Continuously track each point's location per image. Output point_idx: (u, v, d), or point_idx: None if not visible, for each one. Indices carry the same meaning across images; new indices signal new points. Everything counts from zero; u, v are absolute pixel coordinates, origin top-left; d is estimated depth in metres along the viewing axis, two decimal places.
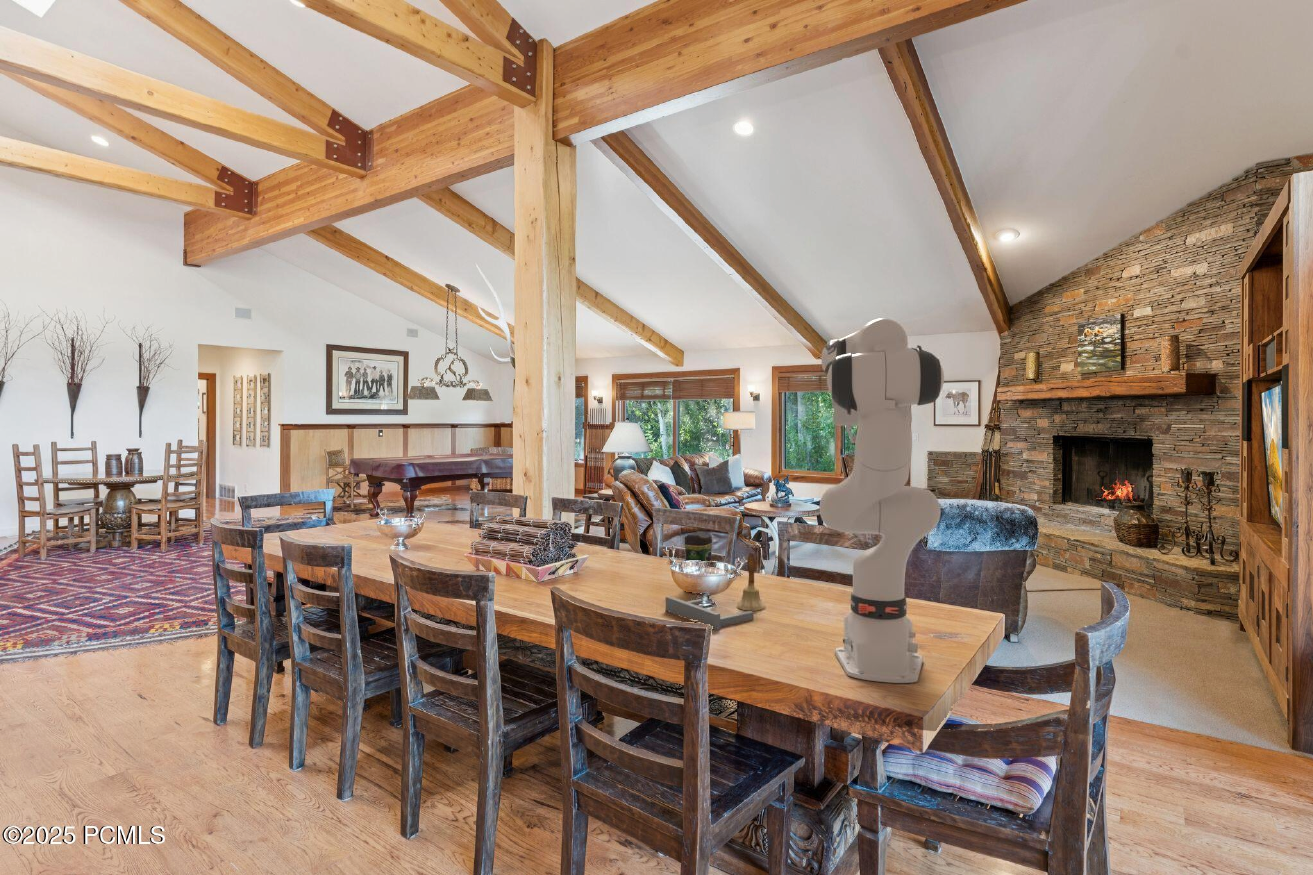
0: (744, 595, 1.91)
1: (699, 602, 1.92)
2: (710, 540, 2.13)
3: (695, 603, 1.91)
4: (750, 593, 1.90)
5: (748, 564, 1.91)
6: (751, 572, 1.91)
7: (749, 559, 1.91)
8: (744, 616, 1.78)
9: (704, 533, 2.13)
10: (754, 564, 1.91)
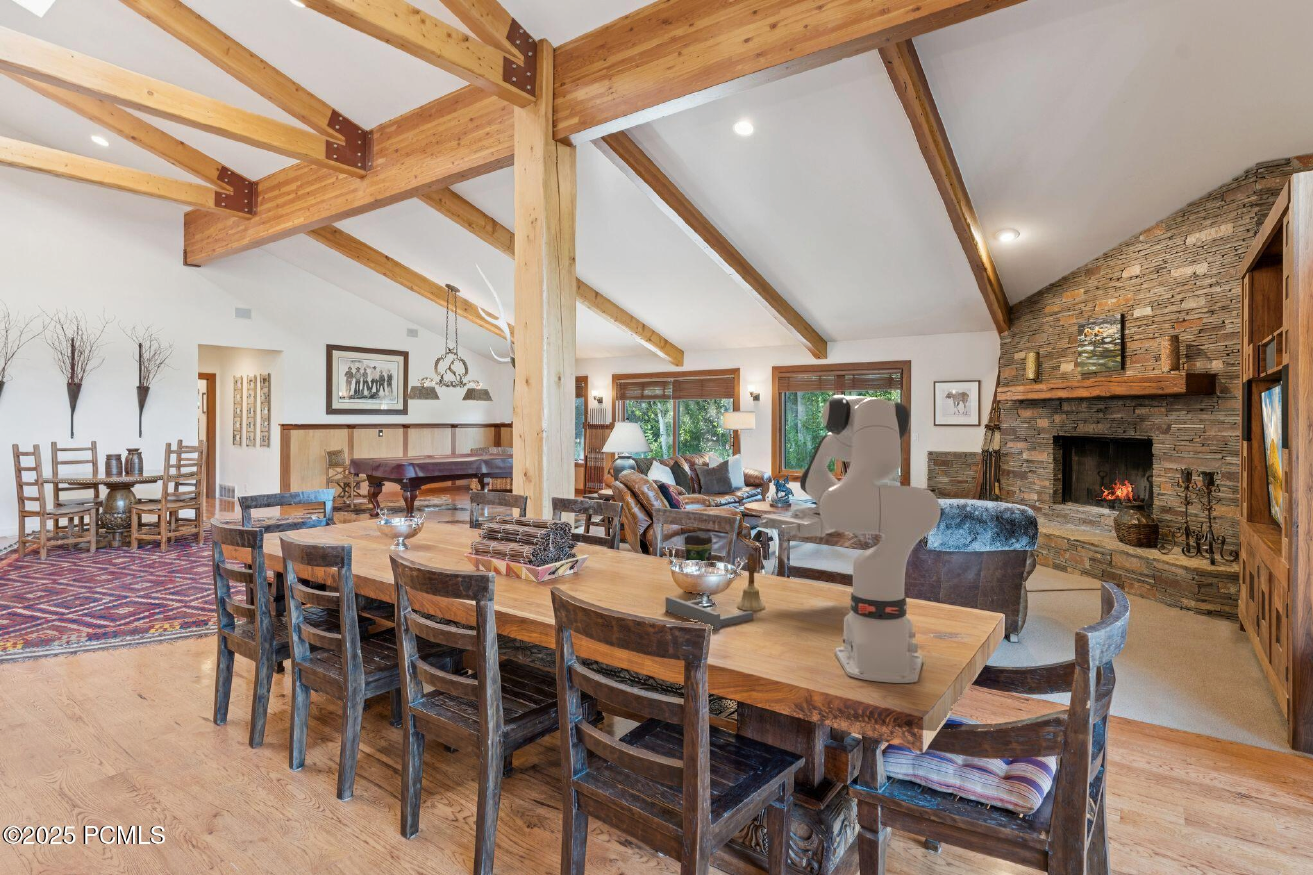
0: (744, 595, 1.91)
1: (699, 602, 1.92)
2: (710, 540, 2.13)
3: (695, 603, 1.91)
4: (750, 593, 1.90)
5: (748, 564, 1.91)
6: (751, 572, 1.91)
7: (749, 559, 1.91)
8: (744, 616, 1.78)
9: (704, 533, 2.13)
10: (754, 564, 1.91)
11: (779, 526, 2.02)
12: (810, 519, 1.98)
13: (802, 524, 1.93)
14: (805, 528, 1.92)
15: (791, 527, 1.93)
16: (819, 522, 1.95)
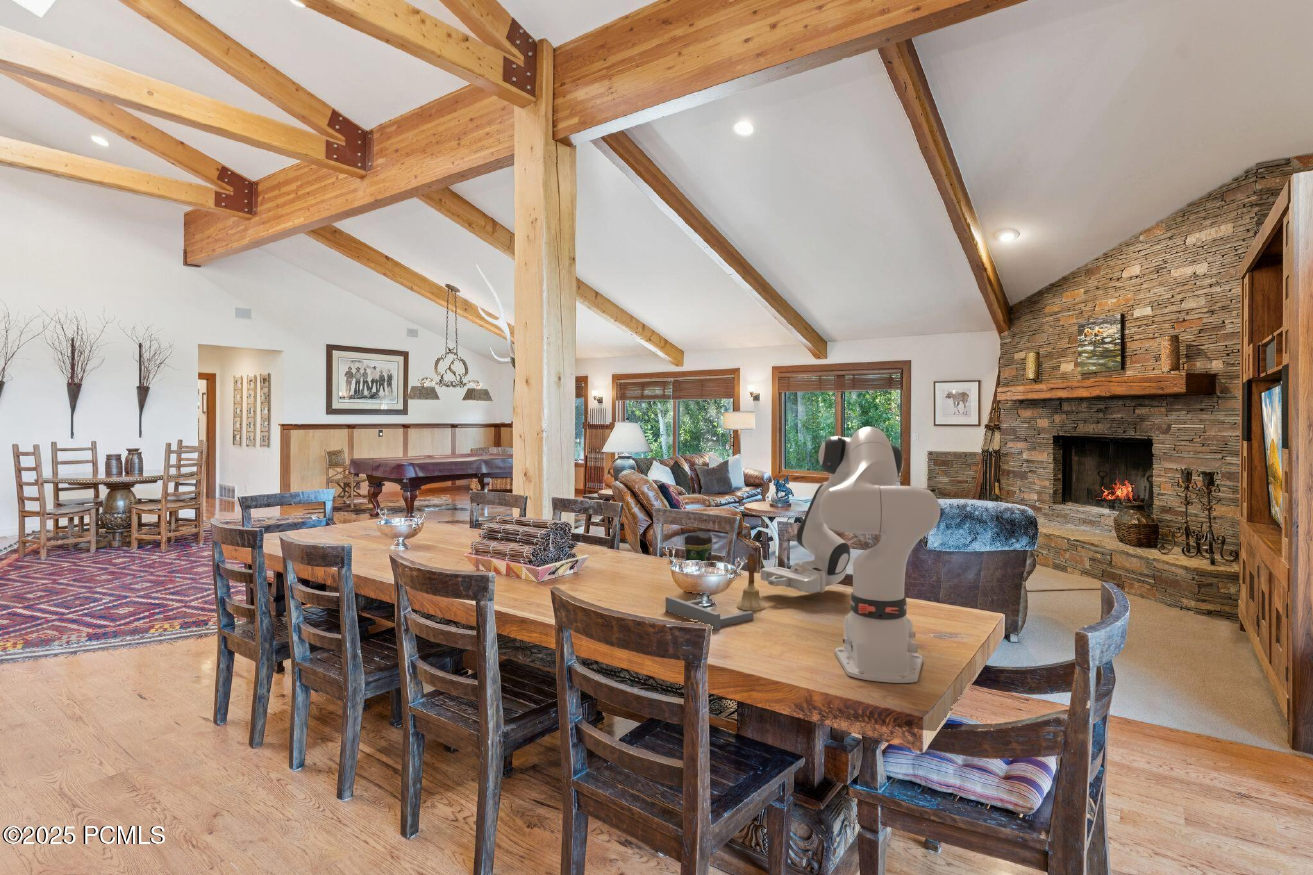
0: (744, 595, 1.91)
1: (699, 602, 1.92)
2: (710, 540, 2.13)
3: (695, 603, 1.91)
4: (750, 593, 1.90)
5: (748, 564, 1.91)
6: (751, 572, 1.91)
7: (749, 559, 1.91)
8: (744, 616, 1.78)
9: (704, 533, 2.13)
10: (754, 564, 1.91)
11: None
12: (809, 575, 1.98)
13: (801, 581, 1.93)
14: (804, 585, 1.92)
15: (781, 581, 1.97)
16: (818, 579, 1.95)
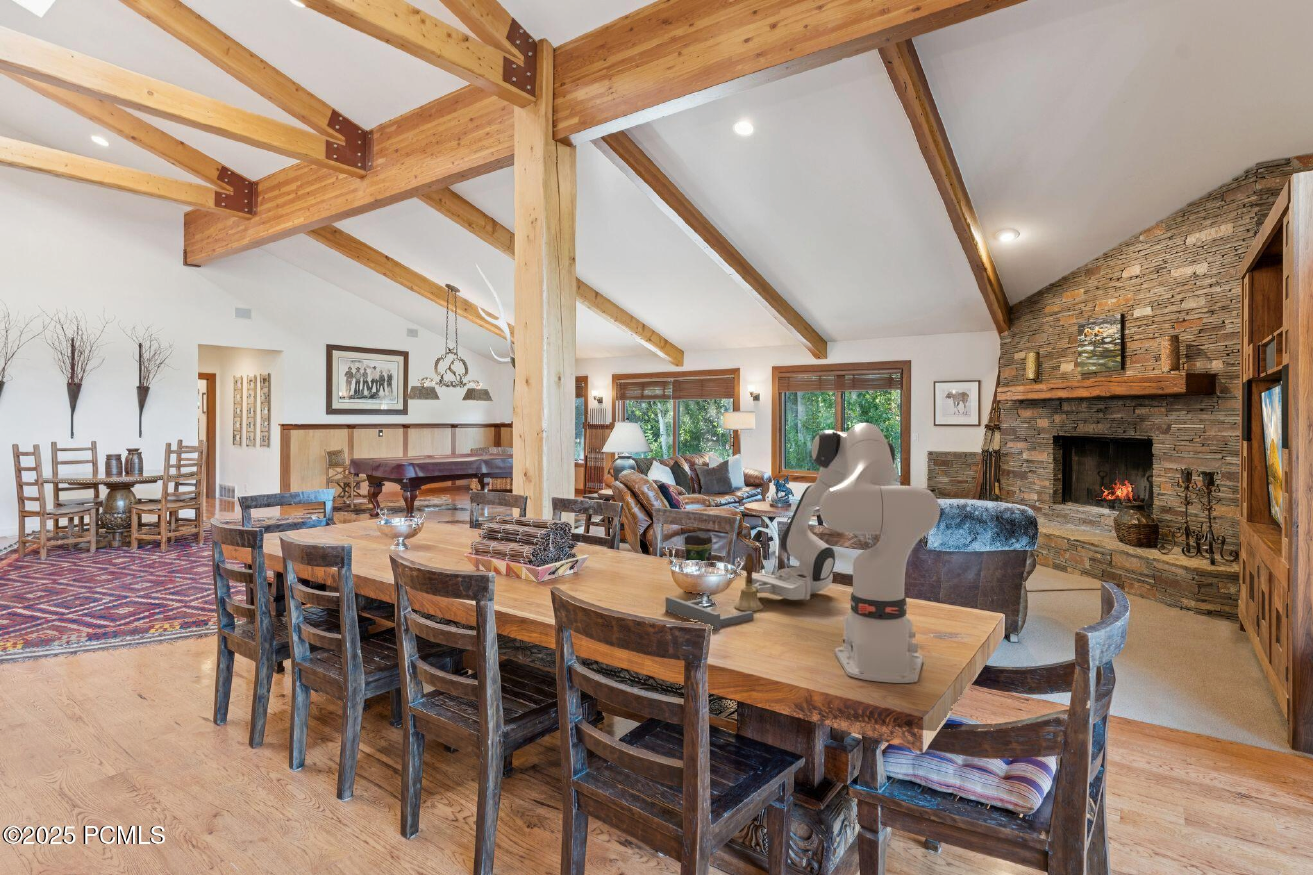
0: (742, 595, 1.91)
1: (699, 602, 1.92)
2: (710, 540, 2.13)
3: (695, 603, 1.91)
4: (748, 593, 1.90)
5: (746, 564, 1.91)
6: (749, 572, 1.91)
7: (747, 559, 1.91)
8: (744, 616, 1.78)
9: (704, 533, 2.13)
10: (752, 564, 1.91)
11: None
12: (794, 581, 1.94)
13: (785, 588, 1.89)
14: (788, 592, 1.88)
15: (764, 588, 1.93)
16: (803, 585, 1.91)
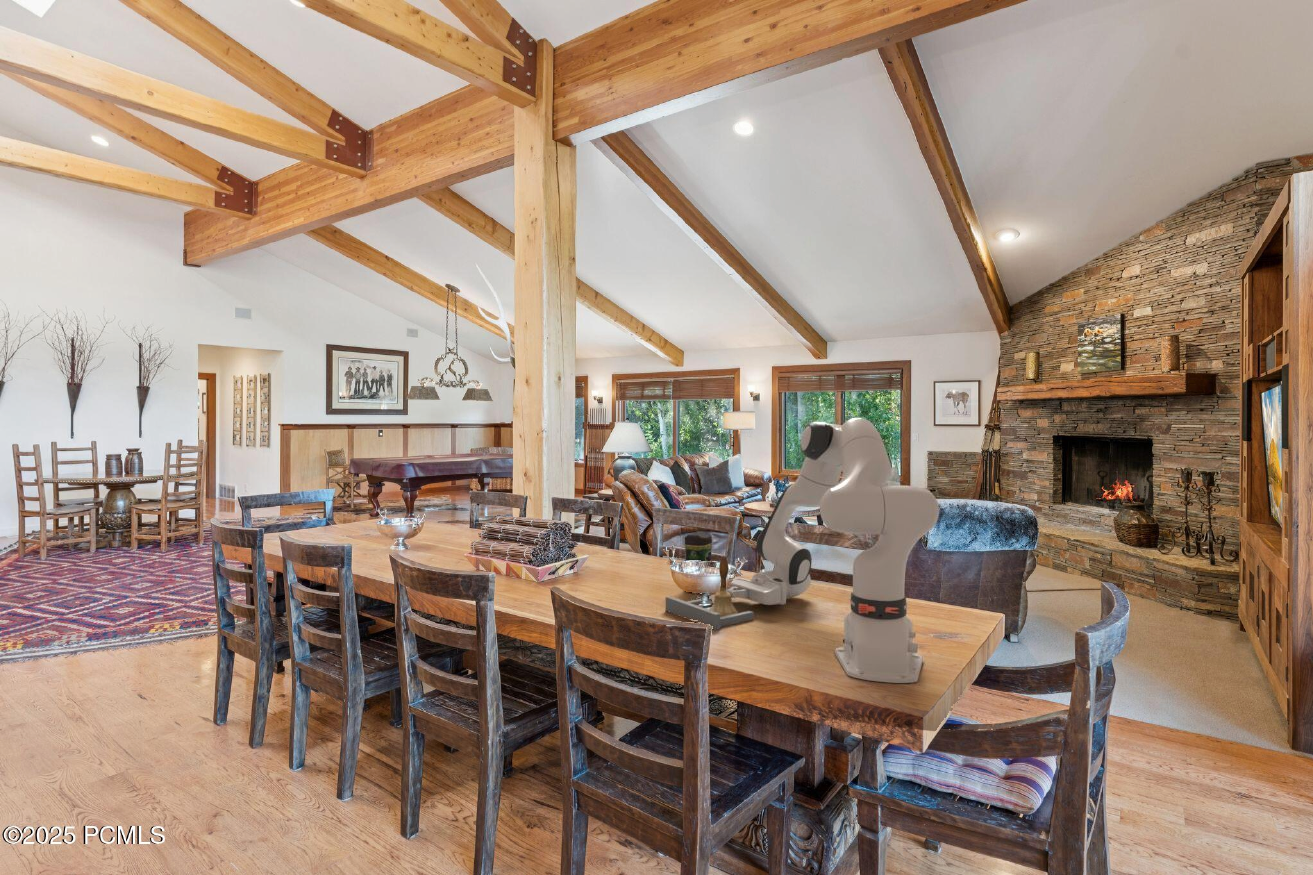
0: (716, 600, 1.85)
1: (699, 602, 1.92)
2: (710, 540, 2.13)
3: (695, 603, 1.91)
4: (723, 598, 1.84)
5: (720, 568, 1.85)
6: (723, 577, 1.85)
7: (721, 563, 1.85)
8: (744, 616, 1.78)
9: (704, 533, 2.13)
10: (726, 568, 1.85)
11: None
12: (769, 586, 1.89)
13: (760, 592, 1.84)
14: (763, 597, 1.83)
15: (739, 592, 1.87)
16: (778, 590, 1.85)
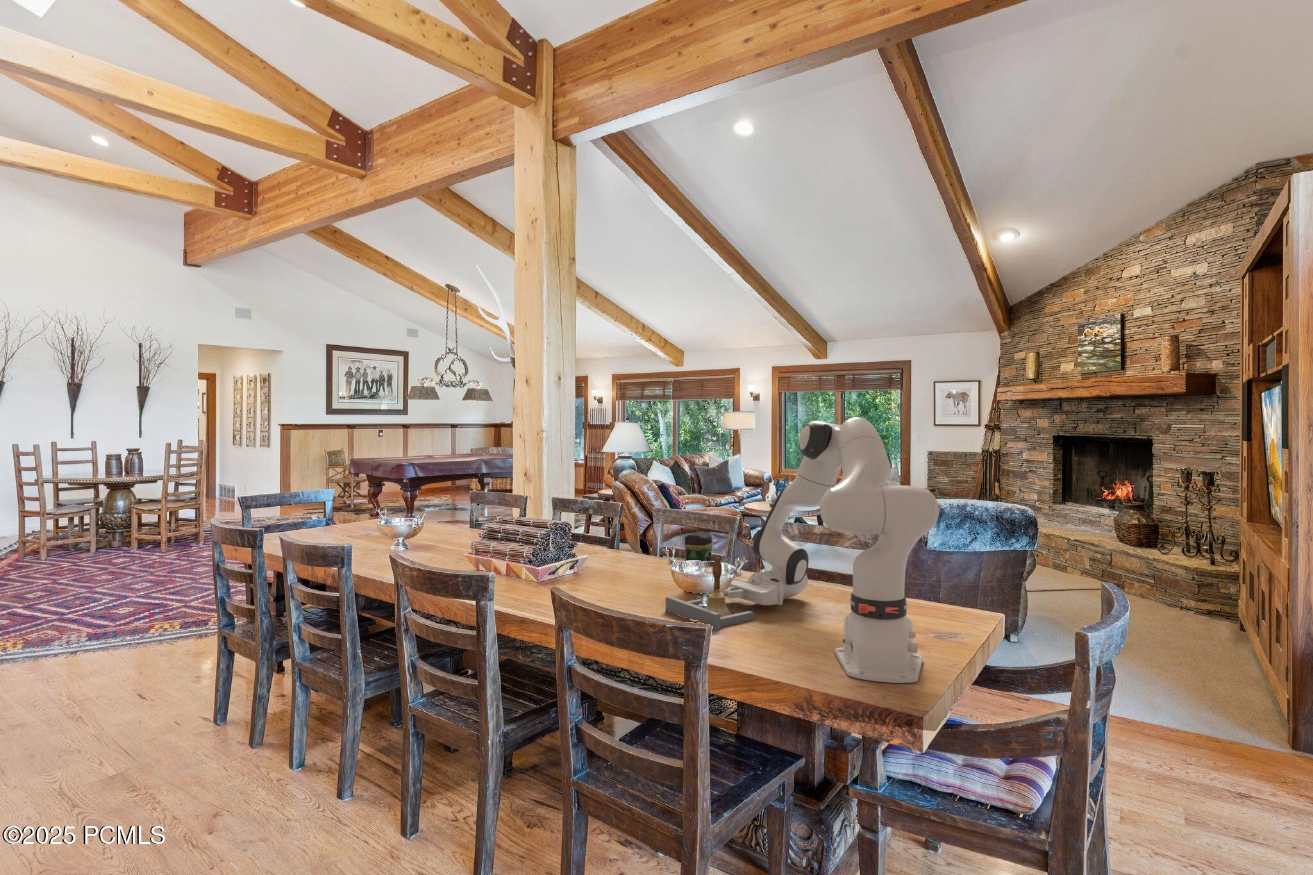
0: (709, 602, 1.84)
1: (699, 602, 1.92)
2: (710, 540, 2.13)
3: (695, 603, 1.91)
4: (716, 600, 1.83)
5: (713, 570, 1.84)
6: (717, 578, 1.84)
7: (714, 564, 1.84)
8: (744, 616, 1.78)
9: (704, 533, 2.13)
10: (720, 570, 1.84)
11: None
12: (766, 586, 1.88)
13: (757, 593, 1.83)
14: (760, 597, 1.82)
15: (736, 593, 1.87)
16: (775, 590, 1.85)
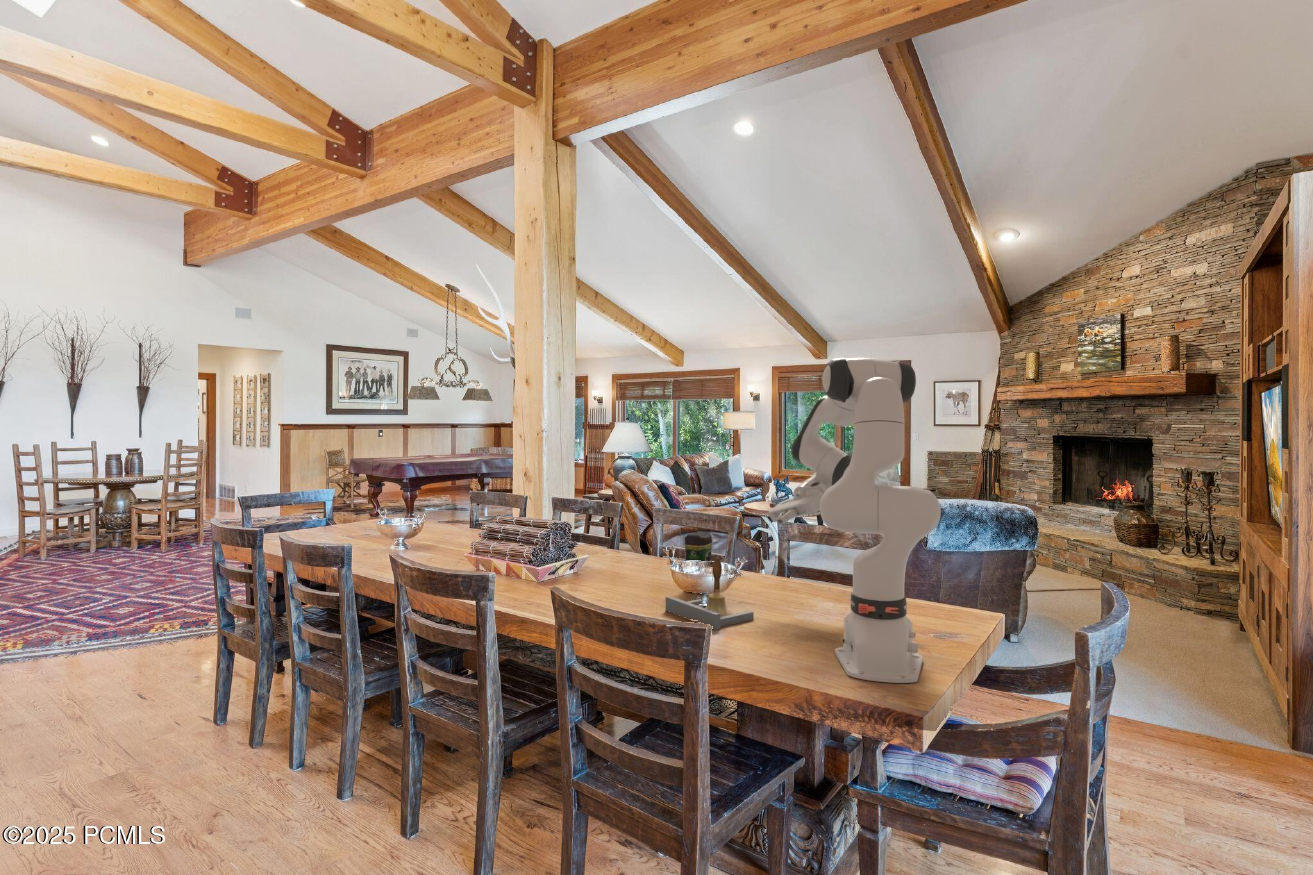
0: (709, 602, 1.84)
1: (699, 602, 1.92)
2: (710, 540, 2.13)
3: (695, 603, 1.91)
4: (716, 600, 1.83)
5: (713, 570, 1.84)
6: (717, 578, 1.84)
7: (714, 564, 1.84)
8: (744, 616, 1.78)
9: (704, 533, 2.13)
10: (720, 570, 1.84)
11: None
12: (811, 493, 1.90)
13: (805, 504, 1.85)
14: (809, 507, 1.85)
15: (788, 515, 1.89)
16: (820, 492, 1.87)
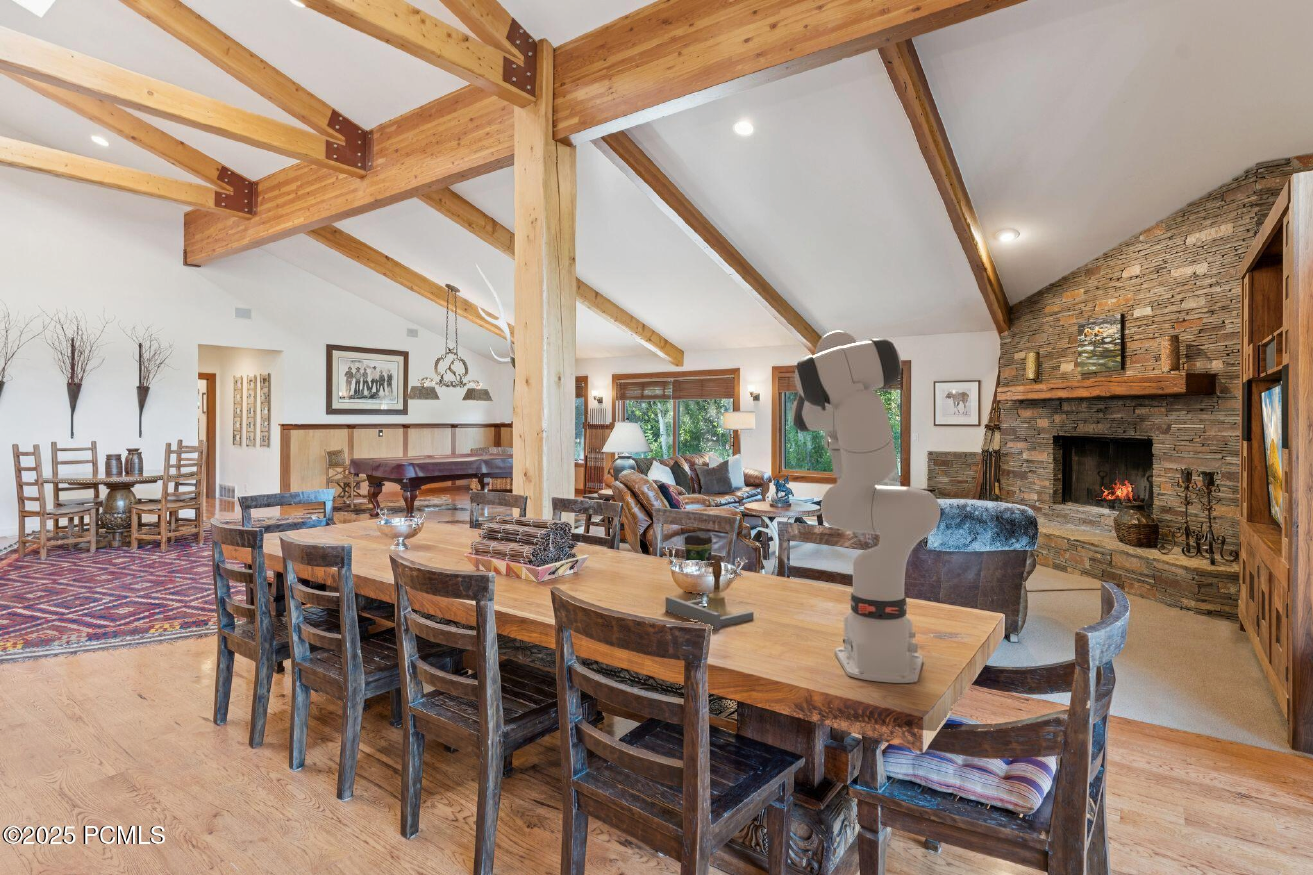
0: (709, 602, 1.84)
1: (699, 602, 1.92)
2: (710, 540, 2.13)
3: (695, 603, 1.91)
4: (716, 600, 1.83)
5: (713, 570, 1.84)
6: (717, 578, 1.84)
7: (714, 564, 1.84)
8: (744, 616, 1.78)
9: (704, 533, 2.13)
10: (720, 570, 1.84)
11: None
12: None
13: None
14: (840, 476, 1.80)
15: None
16: (835, 456, 1.79)
